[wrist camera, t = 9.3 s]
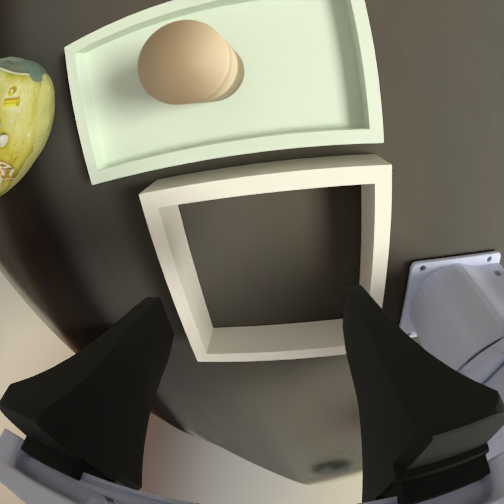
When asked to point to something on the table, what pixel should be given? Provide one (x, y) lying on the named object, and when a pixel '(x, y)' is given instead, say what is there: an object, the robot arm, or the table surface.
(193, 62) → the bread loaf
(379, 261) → the square open frame
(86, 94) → the tray
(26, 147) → the cell model
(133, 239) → the table surface
